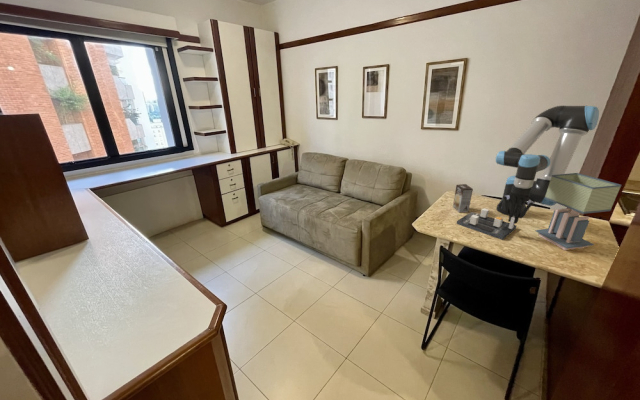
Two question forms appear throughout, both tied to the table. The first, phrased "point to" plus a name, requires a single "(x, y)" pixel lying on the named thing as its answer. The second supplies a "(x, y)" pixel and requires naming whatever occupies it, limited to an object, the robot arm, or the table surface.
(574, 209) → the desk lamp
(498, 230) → the panel
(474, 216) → the block
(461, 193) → the coffee box
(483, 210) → the block
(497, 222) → the block
